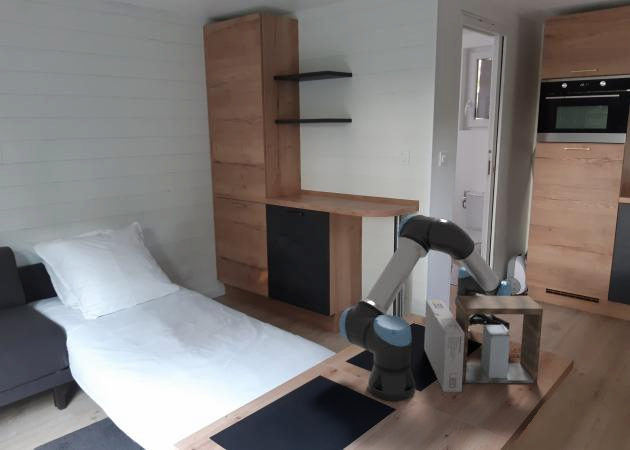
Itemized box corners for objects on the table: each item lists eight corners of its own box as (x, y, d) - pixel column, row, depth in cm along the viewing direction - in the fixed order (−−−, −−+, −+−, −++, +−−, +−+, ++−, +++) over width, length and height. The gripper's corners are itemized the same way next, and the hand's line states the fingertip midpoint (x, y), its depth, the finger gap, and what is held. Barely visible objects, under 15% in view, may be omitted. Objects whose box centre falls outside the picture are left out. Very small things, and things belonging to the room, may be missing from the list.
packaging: (462, 391, 157) (464, 333, 153) (442, 391, 157) (445, 333, 153) (440, 349, 187) (442, 299, 183) (424, 349, 187) (425, 299, 183)
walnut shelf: (462, 382, 162) (465, 308, 157) (453, 365, 174) (456, 295, 169) (536, 383, 161) (542, 308, 156) (523, 365, 173) (528, 295, 168)
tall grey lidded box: (488, 377, 163) (491, 335, 160) (481, 364, 172) (483, 324, 169) (507, 377, 163) (509, 335, 160) (498, 364, 172) (500, 324, 169)
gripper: (503, 321, 195) (522, 344, 175) (440, 321, 197) (452, 344, 176) (504, 303, 194) (524, 325, 173) (440, 303, 195) (453, 324, 174)
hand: (488, 334), depth 174 cm, fingers open, 13 cm apart
